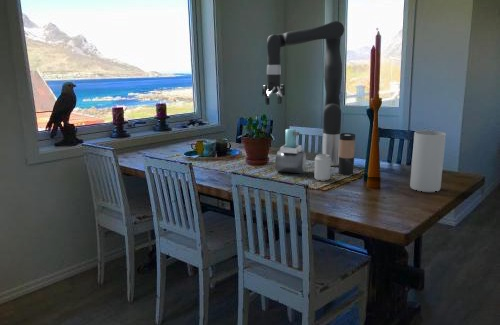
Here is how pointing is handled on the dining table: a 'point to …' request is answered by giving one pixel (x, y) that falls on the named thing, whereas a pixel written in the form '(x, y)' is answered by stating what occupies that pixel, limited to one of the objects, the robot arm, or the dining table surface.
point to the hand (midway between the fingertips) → (273, 104)
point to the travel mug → (346, 153)
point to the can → (322, 167)
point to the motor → (290, 159)
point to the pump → (291, 138)
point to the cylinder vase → (427, 160)
